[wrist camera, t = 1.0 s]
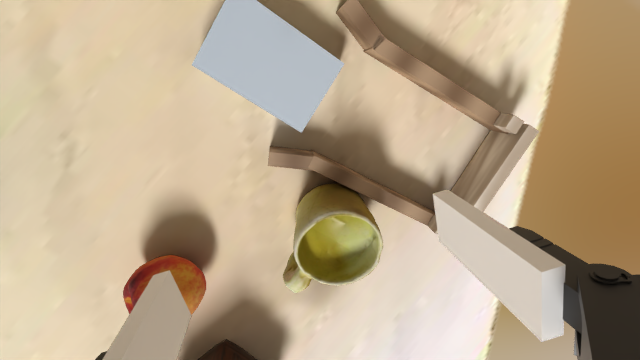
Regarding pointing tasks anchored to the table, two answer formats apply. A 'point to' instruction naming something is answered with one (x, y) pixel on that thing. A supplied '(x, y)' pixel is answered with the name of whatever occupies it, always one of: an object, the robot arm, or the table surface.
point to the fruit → (182, 272)
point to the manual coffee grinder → (227, 352)
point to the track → (506, 129)
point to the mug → (332, 239)
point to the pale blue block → (267, 61)
